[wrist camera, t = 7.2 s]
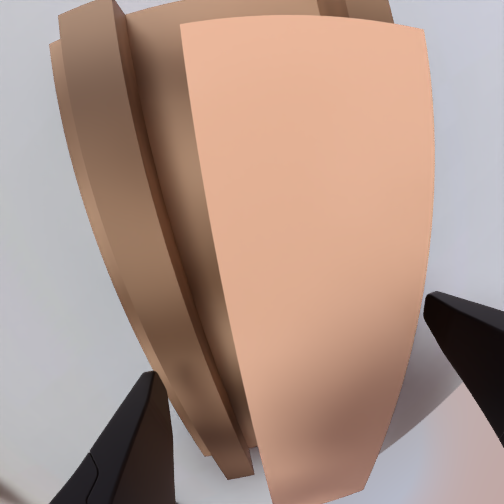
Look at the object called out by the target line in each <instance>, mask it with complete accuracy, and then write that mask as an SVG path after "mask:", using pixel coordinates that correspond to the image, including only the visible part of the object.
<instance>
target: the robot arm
mask: <svg viewBox="0 0 504 504" xmlns="http://www.w3.org/2000/svg"><path fill="white" fill-rule="evenodd" d="M423 316H424V320H425V322H426V323H427V325H428V327H429V329H430V330H431V332H432V334H433V335H434V337H435V339H436V341H437V343H438V344H439V346H440V348H441V350H442V351H443V353H444V354H445V356H446V357H447V359H448V360H449V362H450V363H451V365H452V366H453V367H454V369H455V370H456V372H457V373H458V375H459V376H460V378H461V379H462V381H463V382H464V384H465V385H466V387H467V388H468V389H469V391H470V393H471V394H472V396H473V397H474V399H475V401H476V402H477V404H478V405H479V407H480V408H481V410H482V411H483V413H484V415H485V416H486V418H487V420H488V421H489V423H490V425H491V426H492V428H493V430H494V431H495V433H496V435H497V436H498V438H499V440H500V442H501V444H502V445H503V447H504V311H501V310H498V309H494V308H491V307H488V306H485V305H481V304H478V303H475V302H472V301H468V300H465V299H462V298H458V297H455V296H452V295H449V294H445V293H442V292H439V291H435V292H432V293H430V294H428V295H427V296H426V298H425V305H424V312H423ZM49 504H175V485H174V459H173V433H172V426H171V418H170V410H169V402H168V394H167V390H166V388H165V386H164V384H163V382H162V380H161V378H160V376H159V374H158V373H157V372H156V371H149V372H144V373H143V374H142V375H141V376H140V378H139V379H138V381H137V382H136V384H135V385H134V386H133V388H132V389H131V391H130V392H129V394H128V395H127V397H126V398H125V400H124V401H123V402H122V404H121V405H120V407H119V408H118V410H117V411H116V413H115V414H114V416H113V417H112V419H111V420H110V421H109V423H108V424H107V426H106V427H105V429H104V430H103V432H102V433H101V435H100V436H99V438H98V439H97V441H96V442H95V444H94V445H93V447H92V448H91V450H90V453H88V454H87V455H86V457H85V458H84V460H83V461H82V463H81V464H80V466H79V467H78V468H77V470H76V471H75V473H74V474H73V475H72V476H71V478H70V479H69V480H68V481H67V483H66V484H65V485H64V486H63V488H62V489H61V490H60V491H59V492H58V494H57V495H56V496H55V497H54V498H53V499H52V501H51V502H50V503H49Z"/></svg>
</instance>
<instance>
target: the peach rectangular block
mask: <svg viewBox="0 0 504 504" xmlns="http://www.w3.org/2000/svg"><path fill="white" fill-rule="evenodd" d="M180 30H181V38H182V46H183V54H184V61H185V69H186V76H187V83H188V90H189V97H190V103H191V110H192V117H193V123H194V130H195V136H196V142H197V149H198V155H199V161H200V167H201V173H202V179H203V185H204V190H205V196H206V202H207V207H208V213H209V218H210V224H211V229H212V235H213V240H214V246H215V251H216V256H217V261H218V266H219V272H220V277H221V282H222V287H223V292H224V297H225V302H226V307H227V311H228V316H229V321H230V326H231V331H232V335H233V340H234V345H235V349H236V354H237V358H238V363H239V367H240V372H241V376H242V381H243V385H244V390H245V394H246V398H247V403H248V407H249V411H250V415H251V420H252V424H253V428H254V432H255V436H256V440H257V444H258V448H259V452H260V456H261V460H262V464H263V468H264V472H265V476H266V480H267V484H268V487H269V491H270V495H271V499H272V502H273V504H323V503H326V502H329V501H333V500H336V499H339V498H342V497H345V496H348V495H351V494H353V493H356V492H359V491H362V490H363V489H364V487H365V485H366V483H367V480H368V478H369V476H370V473H371V471H372V469H373V466H374V464H375V462H376V459H377V457H378V454H379V452H380V449H381V446H382V444H383V441H384V438H385V436H386V433H387V430H388V427H389V425H390V422H391V419H392V416H393V413H394V410H395V407H396V404H397V400H398V397H399V394H400V391H401V387H402V384H403V380H404V377H405V373H406V369H407V366H408V362H409V358H410V354H411V350H412V345H413V341H414V337H415V332H416V328H417V323H418V318H419V313H420V308H421V302H422V296H423V291H424V284H425V278H426V271H427V264H428V256H429V247H430V238H431V227H432V215H433V199H434V169H435V144H434V116H433V100H432V88H431V78H430V69H429V61H428V54H427V47H426V41H425V35H424V30H423V29H419V28H414V27H409V26H404V25H398V24H392V23H386V22H380V21H373V20H365V19H356V18H346V17H333V16H315V15H262V16H244V17H231V18H221V19H212V20H204V21H197V22H190V23H184V24H180Z"/></svg>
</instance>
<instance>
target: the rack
mask: <svg viewBox="0 0 504 504" xmlns="http://www.w3.org/2000/svg"><path fill="white" fill-rule="evenodd" d="M262 15H315V16H333V17H346V18H356V19H365V20H373V21H380V22H386V23H392V24H394V21H393V17H392V13H391V9H390V5H389V1H388V0H182V1H177V2H172V3H168V4H163V5H159V6H155V7H151V8H147V9H144V10H140V11H137V12H133V13H130V14H126V15H125V14H124V13H123V11H122V10H121V8H120V7H119V5H118V4H117V2H116V1H115V0H95V1H92V2H90V3H87V4H84V5H82V6H79V7H77V8H74V9H72V10H70V11H67V12H65V13H63V14H60V15H58V19H59V30H60V39H59V40H57V41H55V42H53V43H51V44H49V46H50V54H51V62H52V69H53V76H54V82H55V88H56V94H57V99H58V104H59V109H60V114H61V119H62V124H63V128H64V133H65V137H66V141H67V145H68V149H69V153H70V157H71V161H72V165H73V169H74V172H75V176H76V179H77V183H78V186H79V190H80V193H81V196H82V199H83V203H84V206H85V209H86V212H87V215H88V218H89V221H90V224H91V227H92V230H93V233H94V236H95V238H96V241H97V244H98V247H99V249H100V252H101V255H102V257H103V260H104V263H105V265H106V268H107V270H108V273H109V275H110V278H111V280H112V283H113V285H114V288H115V290H116V292H117V295H118V297H119V299H120V302H121V304H122V306H123V309H124V311H125V313H126V315H127V317H128V320H129V322H130V324H131V326H132V328H133V330H134V333H135V335H136V337H137V339H138V341H139V343H140V345H141V347H142V349H143V351H144V353H145V355H146V357H147V359H148V361H149V363H150V365H151V367H152V369H153V370H154V371H156V372H157V373H158V374H159V376H160V378H161V380H162V382H163V384H164V386H165V388H166V390H167V394H168V398H169V400H170V401H171V403H172V405H173V407H174V408H175V410H176V412H177V413H178V415H179V417H180V418H181V420H182V422H183V423H184V425H185V427H186V428H187V430H188V432H189V433H190V435H191V436H192V438H193V439H194V441H195V443H196V444H197V446H198V447H199V449H200V450H201V452H202V453H203V455H204V456H211V455H212V457H213V458H214V460H215V461H216V463H217V465H218V466H219V468H220V469H221V471H222V472H223V474H224V475H225V477H226V478H227V480H230V479H235V478H240V477H246V476H251V475H255V474H254V470H253V465H252V461H251V456H250V452H249V448H252V447H257V446H258V444H257V440H256V436H255V432H254V428H253V424H252V420H251V415H250V411H249V407H248V403H247V398H246V394H245V390H244V385H243V381H242V376H241V372H240V367H239V363H238V358H237V354H236V349H235V345H234V340H233V335H232V331H231V326H230V321H229V316H228V311H227V307H226V302H225V297H224V292H223V287H222V282H221V277H220V272H219V266H218V261H217V256H216V251H215V246H214V240H213V235H212V229H211V224H210V218H209V213H208V207H207V202H206V196H205V190H204V185H203V179H202V173H201V167H200V161H199V155H198V149H197V142H196V136H195V130H194V123H193V117H192V110H191V103H190V97H189V90H188V83H187V76H186V69H185V61H184V54H183V46H182V38H181V30H180V24H184V23H190V22H197V21H204V20H212V19H221V18H231V17H244V16H262Z"/></svg>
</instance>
